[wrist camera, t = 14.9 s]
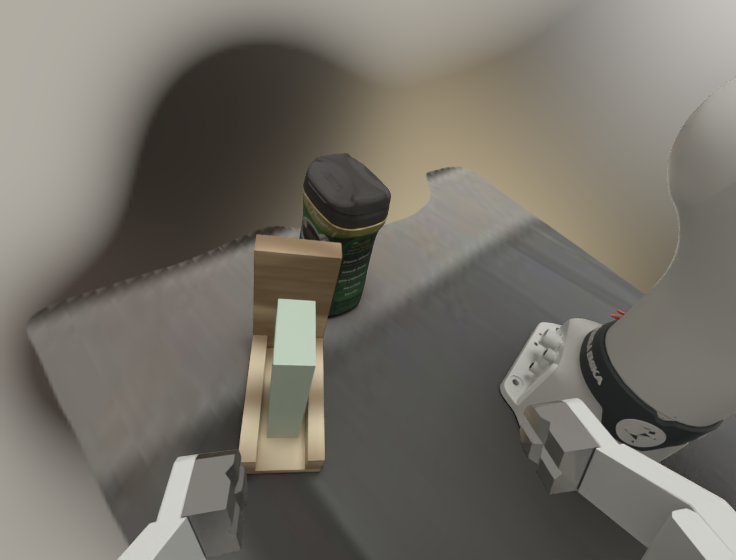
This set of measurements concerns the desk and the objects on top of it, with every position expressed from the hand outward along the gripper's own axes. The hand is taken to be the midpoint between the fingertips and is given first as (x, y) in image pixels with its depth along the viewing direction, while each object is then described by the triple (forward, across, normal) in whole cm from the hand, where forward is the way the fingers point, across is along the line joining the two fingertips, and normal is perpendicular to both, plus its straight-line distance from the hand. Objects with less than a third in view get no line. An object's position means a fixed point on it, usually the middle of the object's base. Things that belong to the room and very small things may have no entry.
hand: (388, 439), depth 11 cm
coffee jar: (+38, +1, +18) cm, 43 cm away
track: (+24, +6, +22) cm, 33 cm away
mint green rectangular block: (+22, +6, +22) cm, 31 cm away
